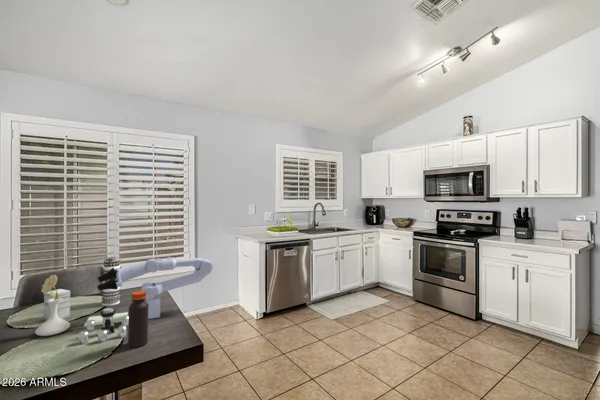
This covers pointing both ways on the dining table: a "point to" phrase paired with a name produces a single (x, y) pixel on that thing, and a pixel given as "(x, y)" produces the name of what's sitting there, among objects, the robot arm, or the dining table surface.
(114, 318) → the sage mat
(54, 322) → the flower in vase
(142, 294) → the bottle
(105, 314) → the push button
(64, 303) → the supplement box
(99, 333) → the spacer posts
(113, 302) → the decorative candle
